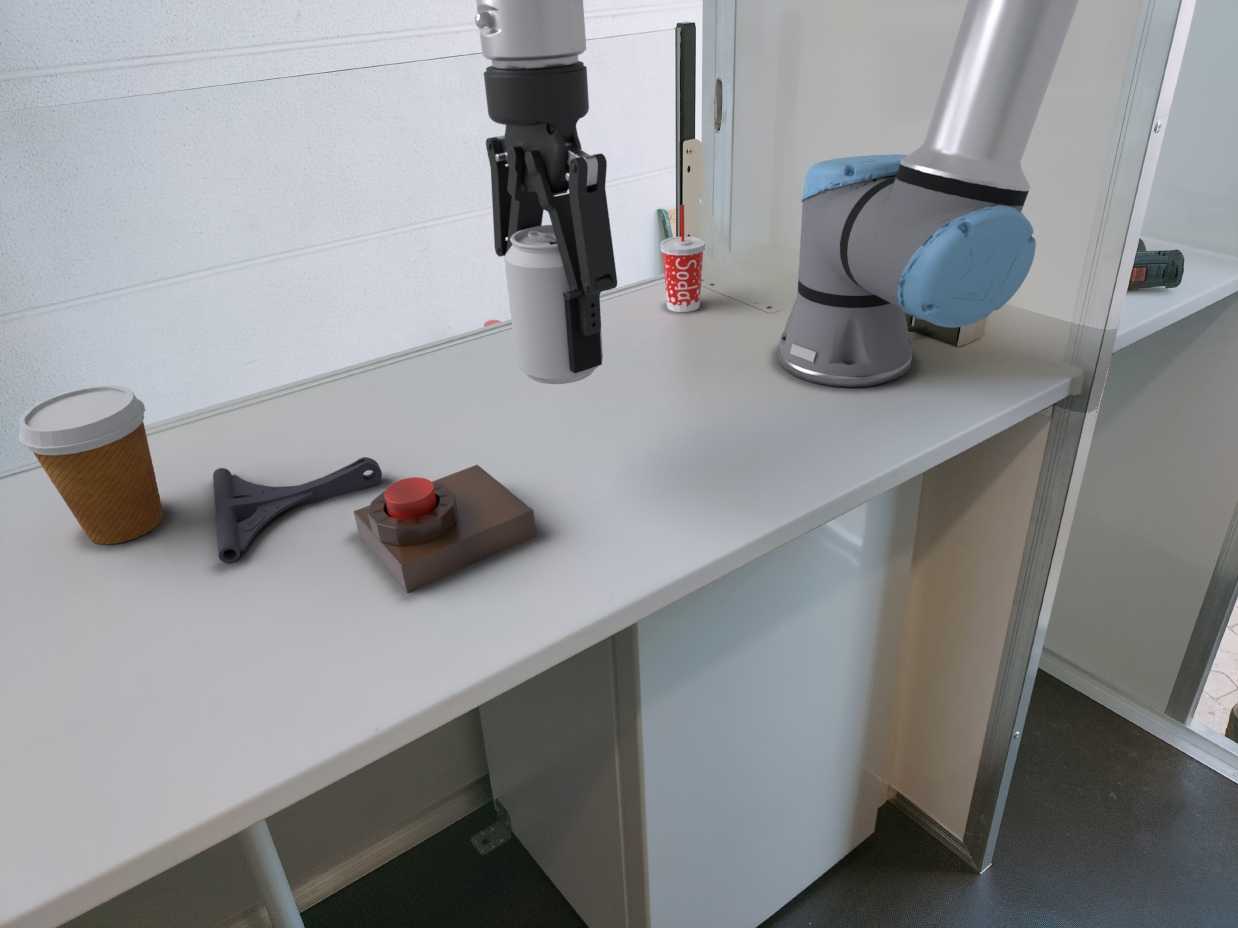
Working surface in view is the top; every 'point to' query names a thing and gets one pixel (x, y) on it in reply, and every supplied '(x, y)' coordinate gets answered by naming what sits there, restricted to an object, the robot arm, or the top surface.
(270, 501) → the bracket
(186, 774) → the top surface
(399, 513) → the button
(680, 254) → the beverage cup
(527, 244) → the can
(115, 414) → the disposable coffee cup
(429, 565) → the button box
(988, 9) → the robot arm
